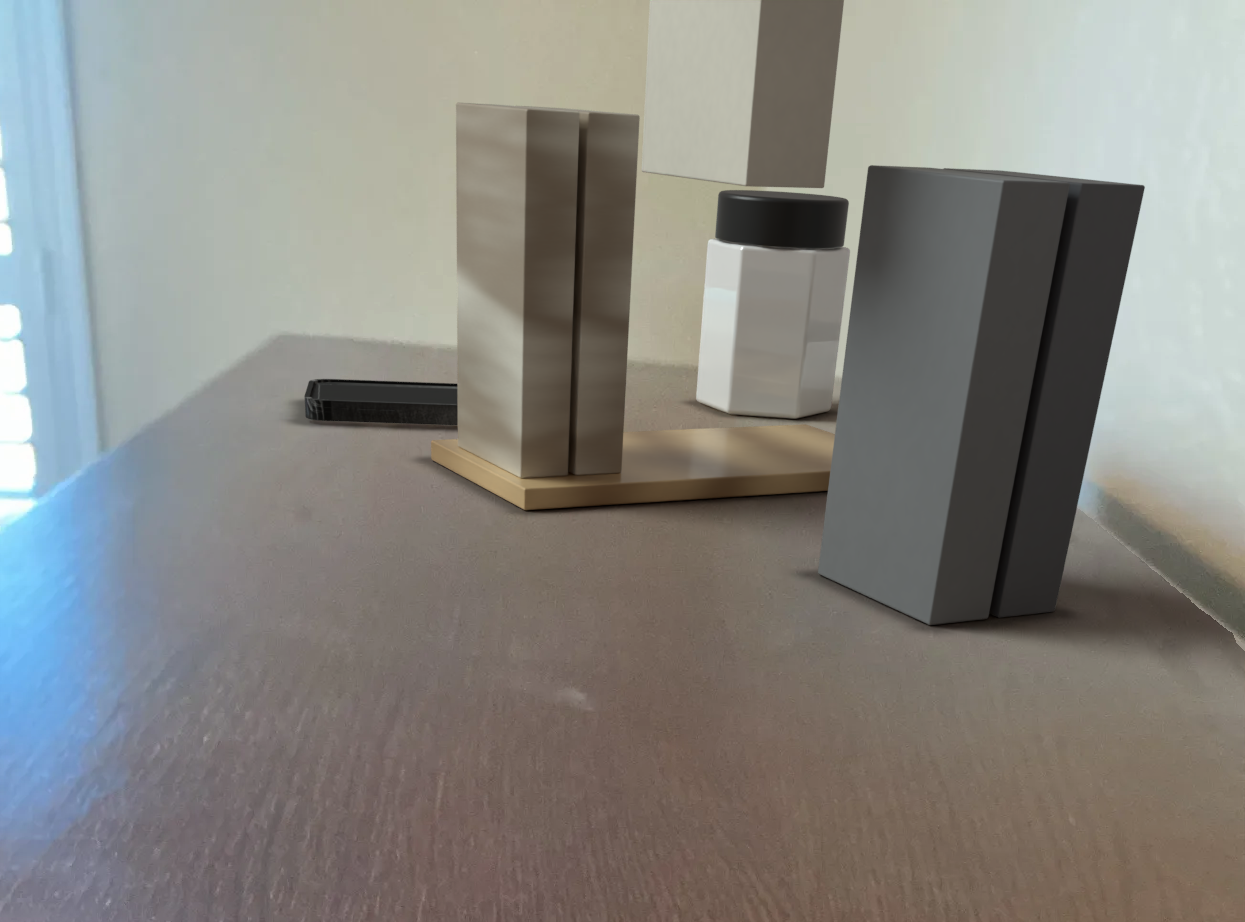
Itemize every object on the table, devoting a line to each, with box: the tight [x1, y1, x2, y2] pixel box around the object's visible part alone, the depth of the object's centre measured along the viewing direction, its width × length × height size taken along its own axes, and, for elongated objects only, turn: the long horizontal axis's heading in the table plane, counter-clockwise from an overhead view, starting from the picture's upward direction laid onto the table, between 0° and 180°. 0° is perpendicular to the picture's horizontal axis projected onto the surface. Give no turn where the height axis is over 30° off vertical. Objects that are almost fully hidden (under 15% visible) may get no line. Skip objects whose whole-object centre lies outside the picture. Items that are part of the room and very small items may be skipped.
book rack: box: [430, 102, 835, 511], centre depth 78 cm, size 24×12×16 cm, turn 117°
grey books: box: [817, 164, 1146, 626], centre depth 60 cm, size 6×8×15 cm
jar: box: [695, 189, 851, 420], centre depth 98 cm, size 9×8×12 cm
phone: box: [303, 378, 458, 427], centre depth 92 cm, size 8×1×15 cm
